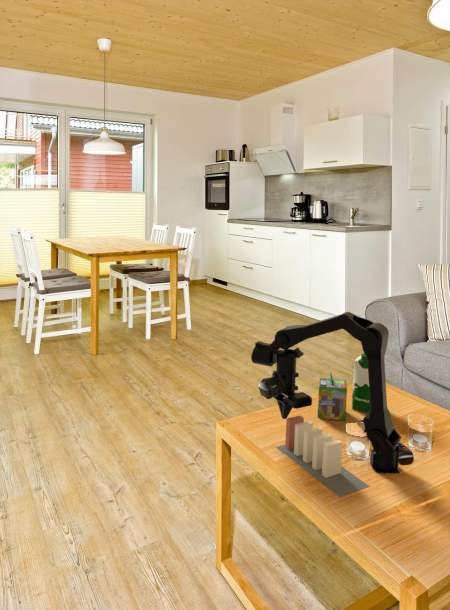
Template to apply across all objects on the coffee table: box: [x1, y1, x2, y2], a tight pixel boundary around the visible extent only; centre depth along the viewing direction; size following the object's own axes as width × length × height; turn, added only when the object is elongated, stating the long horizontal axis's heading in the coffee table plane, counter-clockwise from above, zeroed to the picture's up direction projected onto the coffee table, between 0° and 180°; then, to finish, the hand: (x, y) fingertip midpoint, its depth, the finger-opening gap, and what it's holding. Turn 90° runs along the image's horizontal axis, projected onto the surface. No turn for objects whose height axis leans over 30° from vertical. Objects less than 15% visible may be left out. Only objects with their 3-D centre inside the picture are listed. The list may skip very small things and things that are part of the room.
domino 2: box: [294, 420, 314, 456], centre depth 144 cm, size 2×5×9 cm, turn 118°
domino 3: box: [303, 426, 323, 463], centre depth 140 cm, size 2×5×9 cm, turn 118°
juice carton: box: [317, 371, 348, 422], centre depth 170 cm, size 9×9×15 cm
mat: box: [275, 444, 371, 498], centre depth 138 cm, size 28×10×1 cm, turn 29°
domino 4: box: [312, 432, 333, 470], centre depth 137 cm, size 2×5×9 cm, turn 118°
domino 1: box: [284, 415, 305, 450], centre depth 148 cm, size 2×5×9 cm, turn 118°
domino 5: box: [322, 439, 343, 478], centre depth 133 cm, size 2×5×9 cm, turn 119°
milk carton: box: [351, 353, 370, 414], centre depth 175 cm, size 9×9×20 cm
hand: (284, 418), depth 152 cm, fingers closed
